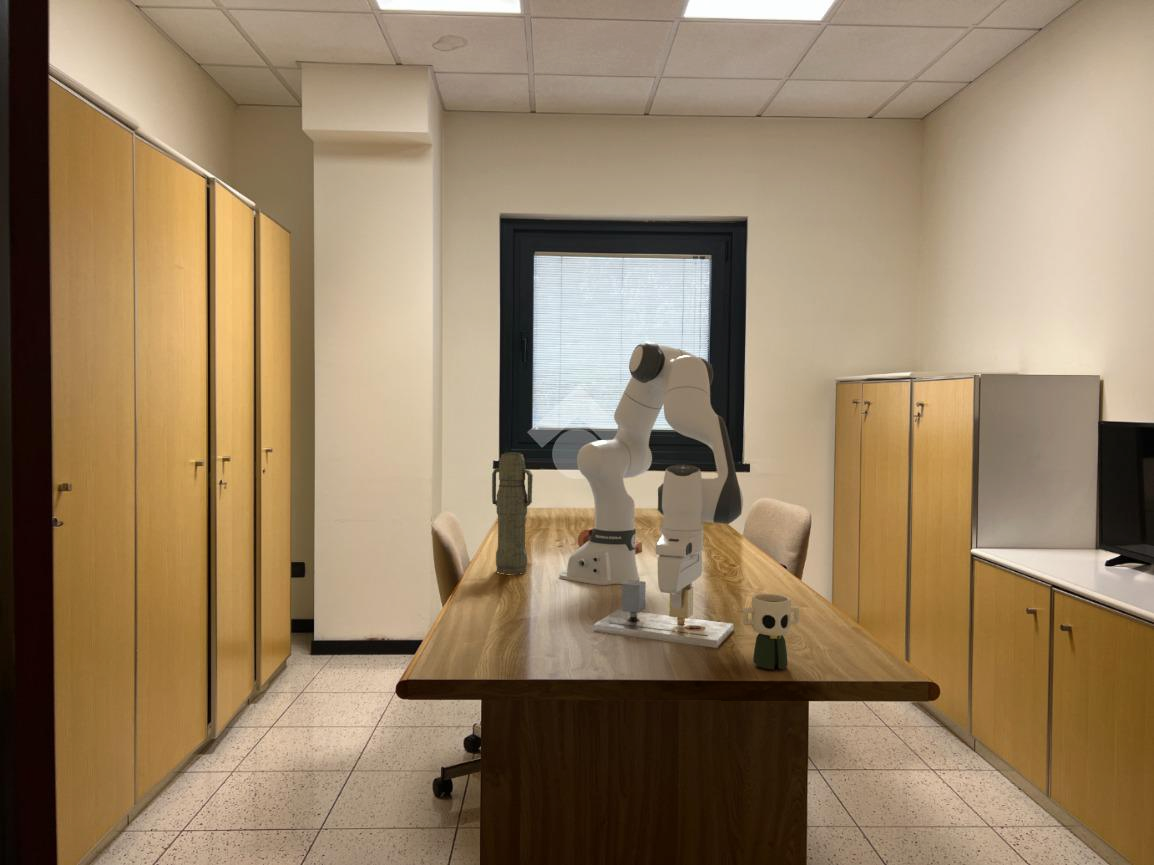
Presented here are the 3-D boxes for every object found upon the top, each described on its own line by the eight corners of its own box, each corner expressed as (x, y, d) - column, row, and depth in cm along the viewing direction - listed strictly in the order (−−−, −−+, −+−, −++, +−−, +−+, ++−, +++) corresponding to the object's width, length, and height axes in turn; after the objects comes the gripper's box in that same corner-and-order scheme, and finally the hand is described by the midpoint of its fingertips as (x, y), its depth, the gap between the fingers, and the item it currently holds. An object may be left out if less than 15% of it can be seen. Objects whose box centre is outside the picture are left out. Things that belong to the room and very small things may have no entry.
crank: (577, 552, 266) (577, 528, 266) (587, 548, 273) (587, 525, 273) (633, 557, 258) (633, 533, 258) (641, 553, 265) (642, 529, 265)
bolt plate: (593, 631, 171) (594, 586, 171) (617, 616, 184) (618, 573, 183) (716, 647, 160) (717, 599, 160) (733, 630, 173) (733, 585, 172)
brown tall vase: (528, 577, 224) (529, 454, 223) (488, 576, 226) (488, 453, 225) (534, 571, 233) (535, 452, 232) (495, 569, 235) (496, 451, 234)
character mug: (748, 674, 144) (749, 603, 144) (735, 661, 151) (736, 593, 151) (805, 672, 146) (807, 601, 145) (790, 659, 153) (791, 592, 152)
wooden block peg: (669, 625, 169) (669, 588, 169) (674, 621, 173) (675, 584, 173) (687, 628, 167) (687, 590, 167) (692, 623, 171) (693, 586, 171)
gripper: (682, 533, 180) (681, 593, 181) (652, 547, 162) (651, 614, 162) (709, 535, 178) (708, 596, 178) (682, 550, 159) (681, 618, 160)
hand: (681, 605), depth 170 cm, fingers closed on wooden block peg, 4 cm apart
